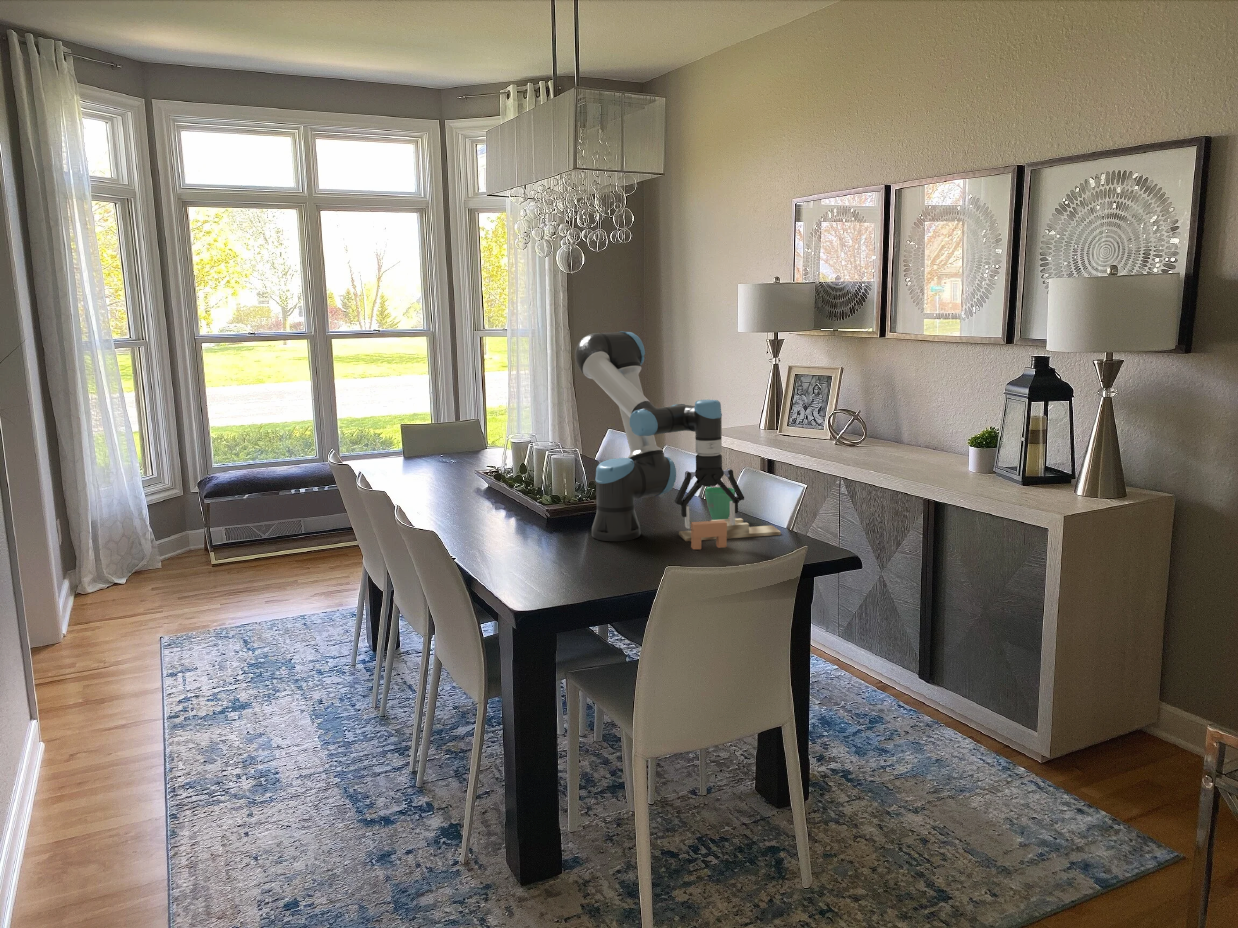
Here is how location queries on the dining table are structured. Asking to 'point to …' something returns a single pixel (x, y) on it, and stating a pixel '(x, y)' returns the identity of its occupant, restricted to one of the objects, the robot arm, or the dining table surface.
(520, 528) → the dining table surface
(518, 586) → the dining table surface
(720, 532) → the clip
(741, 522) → the rail
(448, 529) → the dining table surface
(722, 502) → the green tapered cup
